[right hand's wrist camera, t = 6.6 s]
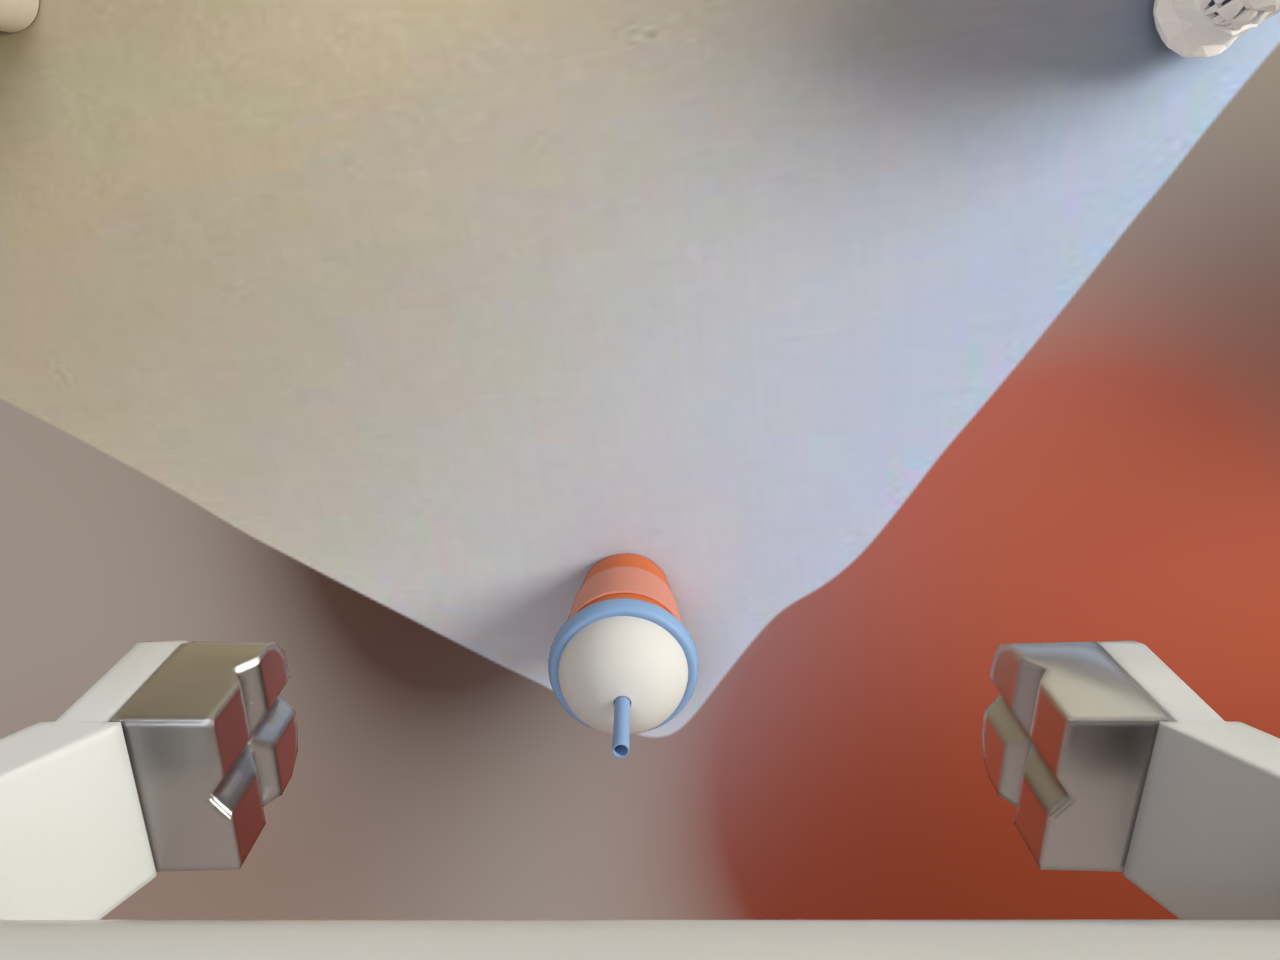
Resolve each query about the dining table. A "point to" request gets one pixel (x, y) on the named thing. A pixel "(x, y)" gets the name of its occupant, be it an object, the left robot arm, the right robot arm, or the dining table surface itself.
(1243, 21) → the skull
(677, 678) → the cup with straw
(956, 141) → the dining table surface
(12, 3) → the bottle
